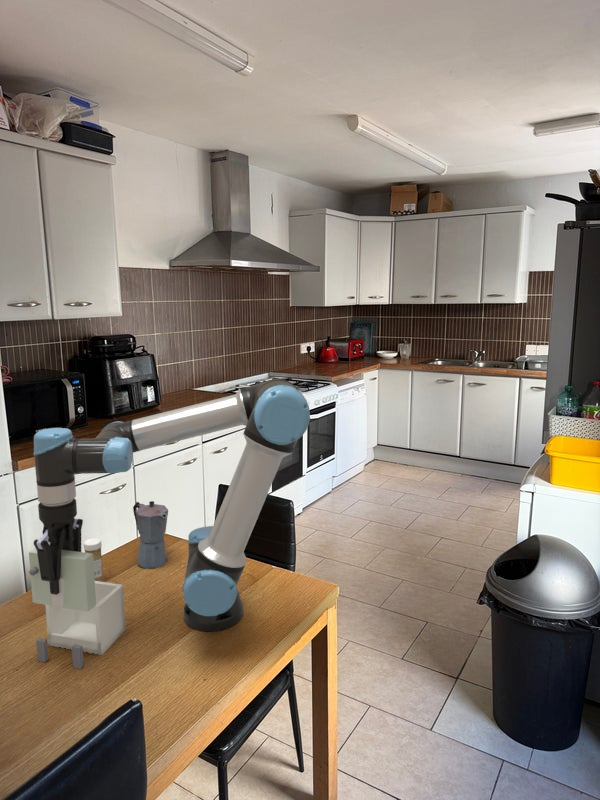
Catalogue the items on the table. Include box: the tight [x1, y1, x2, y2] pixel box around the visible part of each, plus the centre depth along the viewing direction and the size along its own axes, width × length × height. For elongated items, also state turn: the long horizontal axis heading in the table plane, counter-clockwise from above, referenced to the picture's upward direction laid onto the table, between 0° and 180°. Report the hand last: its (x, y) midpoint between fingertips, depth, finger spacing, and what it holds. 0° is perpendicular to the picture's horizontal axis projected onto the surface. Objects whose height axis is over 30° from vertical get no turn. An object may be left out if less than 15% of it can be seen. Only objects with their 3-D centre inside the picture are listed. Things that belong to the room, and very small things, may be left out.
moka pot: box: [132, 500, 169, 569], centre depth 169 cm, size 10×15×20 cm, turn 58°
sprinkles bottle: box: [83, 537, 104, 582], centre depth 156 cm, size 5×5×14 cm
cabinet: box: [35, 581, 127, 670], centre depth 129 cm, size 14×15×12 cm
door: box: [28, 547, 96, 612], centre depth 122 cm, size 14×4×12 cm, turn 76°
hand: (64, 600), depth 123 cm, fingers closed on door, 3 cm apart
